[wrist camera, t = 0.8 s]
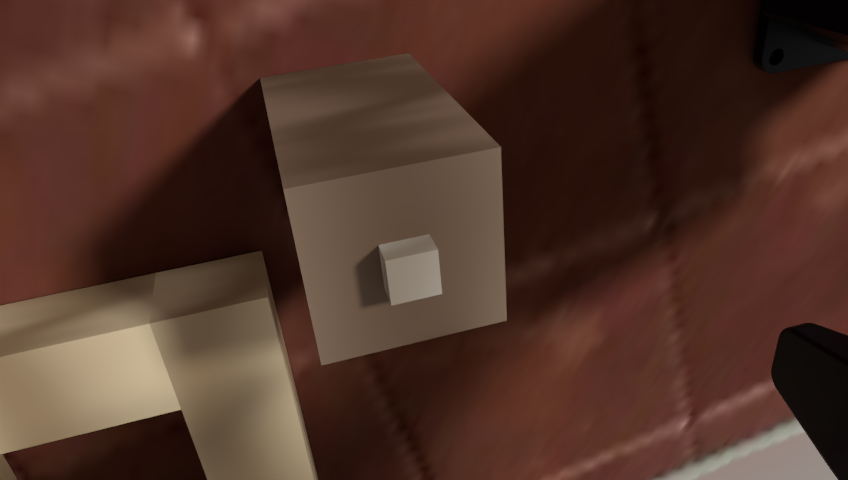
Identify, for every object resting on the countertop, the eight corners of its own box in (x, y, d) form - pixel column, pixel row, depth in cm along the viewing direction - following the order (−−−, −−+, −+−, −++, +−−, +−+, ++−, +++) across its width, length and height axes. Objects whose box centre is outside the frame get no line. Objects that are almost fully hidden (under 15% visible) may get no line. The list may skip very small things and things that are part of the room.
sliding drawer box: (409, 53, 18) (513, 159, 12) (422, 186, 20) (517, 337, 14) (259, 77, 18) (286, 203, 11) (288, 212, 20) (325, 384, 13)
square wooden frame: (261, 250, 20) (267, 297, 18) (327, 516, 26) (337, 574, 24) (-201, 348, 18) (-255, 413, 16) (-11, 612, 24) (-32, 686, 22)
